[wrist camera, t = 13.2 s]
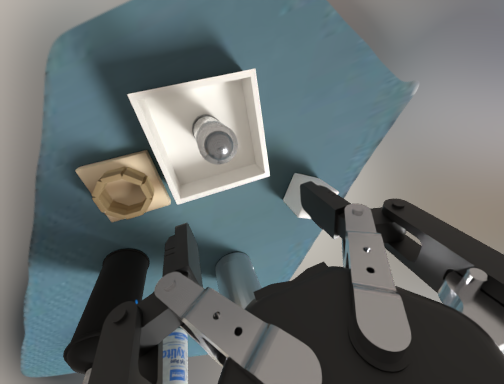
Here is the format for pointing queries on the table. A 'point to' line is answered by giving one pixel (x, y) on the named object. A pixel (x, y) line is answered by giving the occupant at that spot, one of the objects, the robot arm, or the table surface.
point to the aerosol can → (106, 304)
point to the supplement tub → (175, 358)
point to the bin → (182, 139)
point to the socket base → (125, 185)
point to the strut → (214, 139)
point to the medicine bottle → (293, 194)
